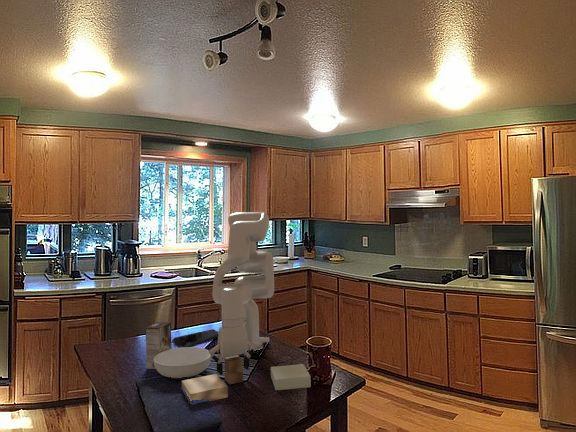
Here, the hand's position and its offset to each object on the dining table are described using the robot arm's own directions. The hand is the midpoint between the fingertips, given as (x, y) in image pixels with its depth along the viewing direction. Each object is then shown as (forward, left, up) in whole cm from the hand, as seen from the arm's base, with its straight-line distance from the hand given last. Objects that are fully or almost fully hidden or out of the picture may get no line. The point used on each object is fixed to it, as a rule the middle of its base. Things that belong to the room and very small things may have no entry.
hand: (233, 371), depth 147 cm
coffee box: (+20, -30, -4) cm, 36 cm away
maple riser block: (+12, +5, -4) cm, 14 cm away
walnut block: (0, 0, -4) cm, 4 cm away
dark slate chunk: (-2, -56, -4) cm, 56 cm away
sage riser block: (-17, +11, -4) cm, 20 cm away
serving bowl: (+14, -16, -4) cm, 22 cm away
